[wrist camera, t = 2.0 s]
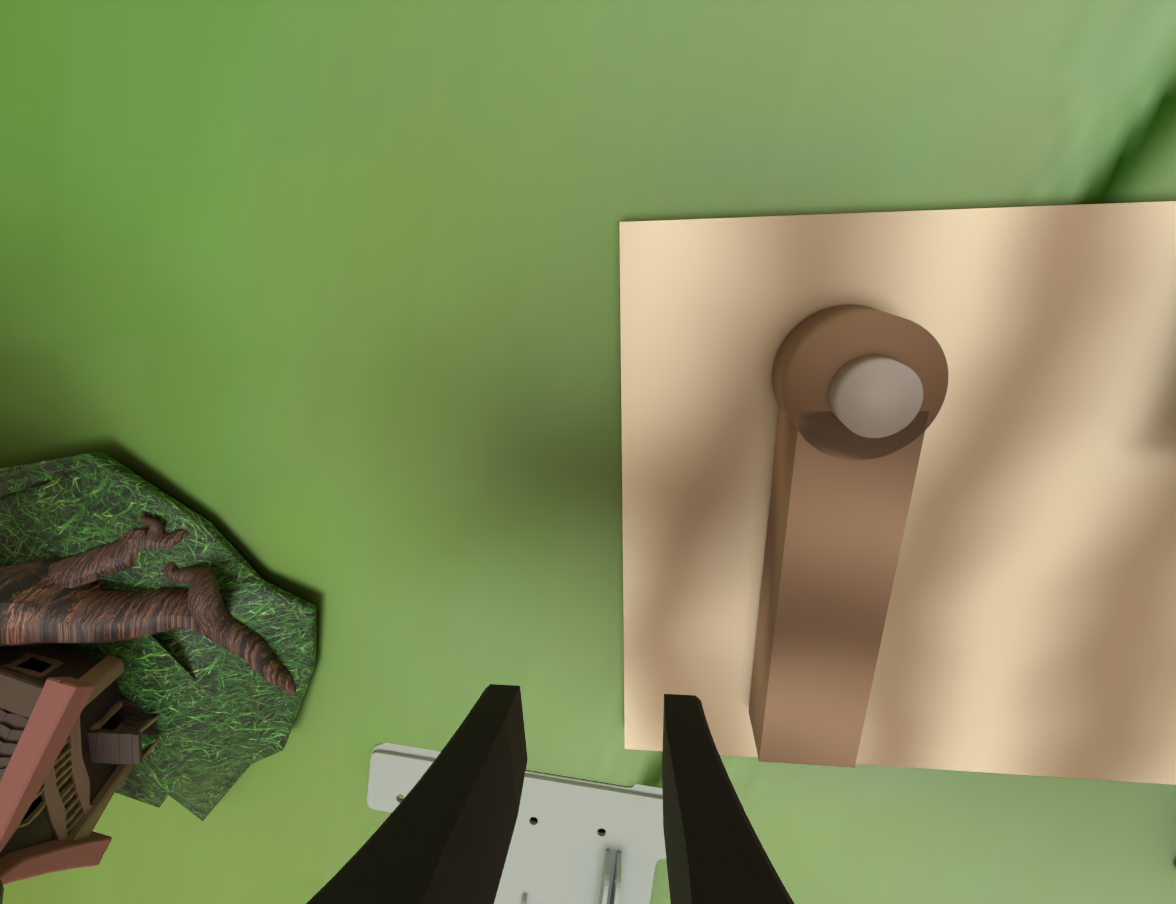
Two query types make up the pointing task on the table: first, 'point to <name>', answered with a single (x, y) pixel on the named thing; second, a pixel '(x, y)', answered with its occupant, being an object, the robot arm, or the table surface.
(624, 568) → the base board
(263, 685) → the bonsai tree
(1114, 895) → the table surface
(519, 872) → the metal bracket
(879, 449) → the latch bar
